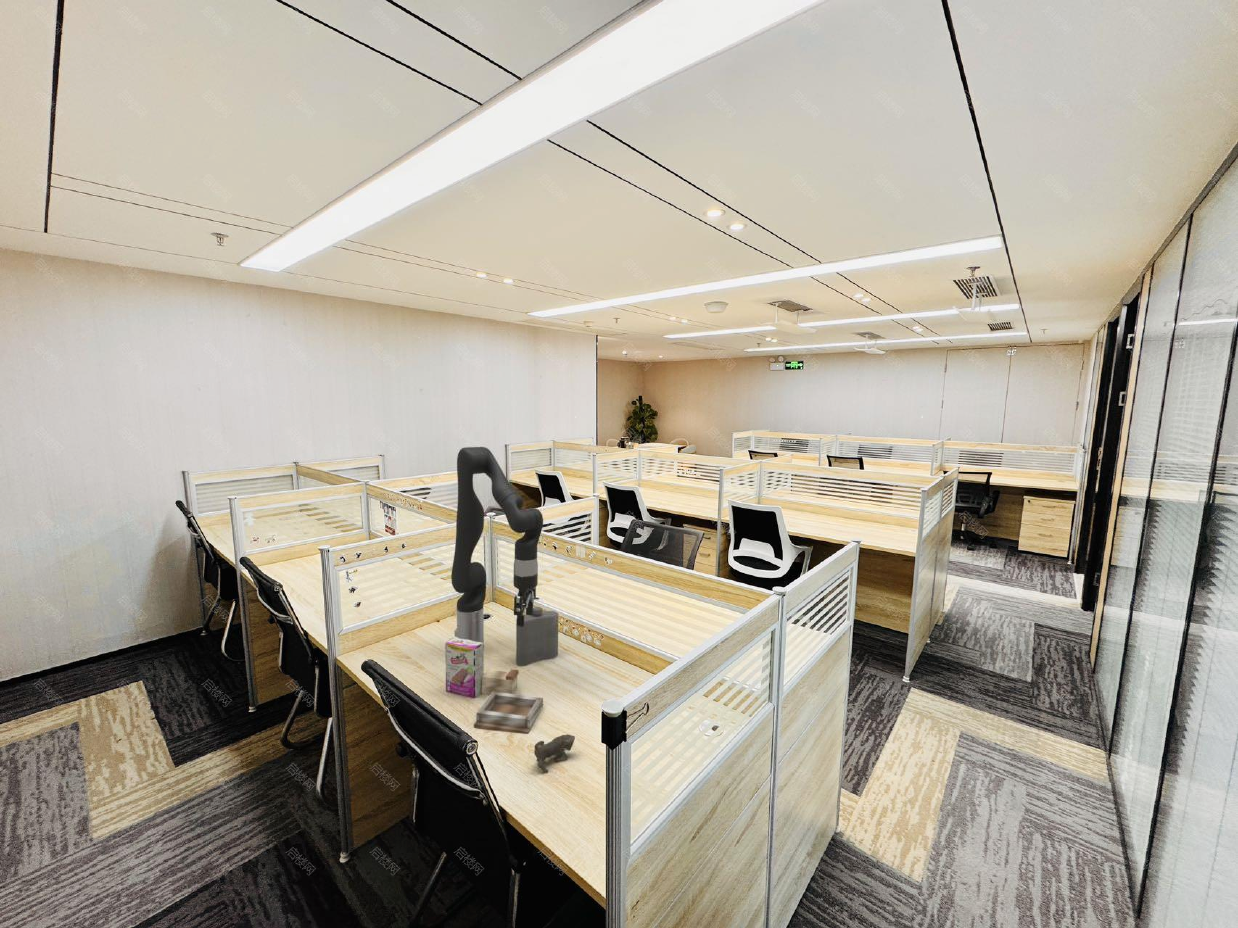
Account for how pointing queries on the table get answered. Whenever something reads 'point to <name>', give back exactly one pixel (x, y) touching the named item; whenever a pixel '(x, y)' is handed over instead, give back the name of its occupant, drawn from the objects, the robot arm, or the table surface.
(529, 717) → the tray
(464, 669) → the candy bar box
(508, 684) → the fuselage block
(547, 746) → the dog figurine
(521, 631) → the flask
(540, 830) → the table surface
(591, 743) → the table surface
